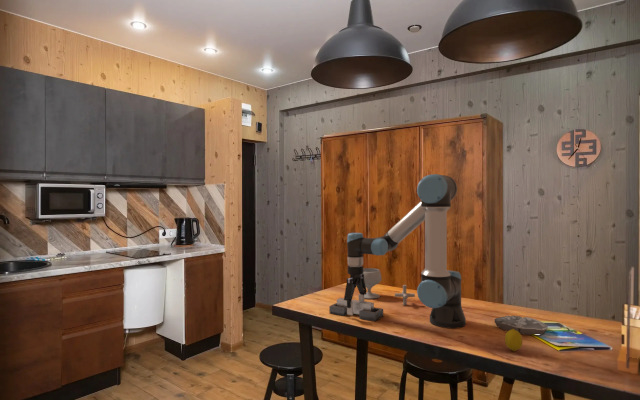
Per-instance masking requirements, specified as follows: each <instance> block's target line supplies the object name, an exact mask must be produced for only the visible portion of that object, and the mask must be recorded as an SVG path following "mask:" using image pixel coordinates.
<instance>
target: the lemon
mask: <svg viewBox="0 0 640 400" xmlns="http://www.w3.org/2000/svg"><path fill="white" fill-rule="evenodd" d="M504 341H505V345H506V346H507V348H508V349H509V350H511V351H512V352H515V351H518V350H520V349H521V348H522V346H523V338H522V334H520V333H519V332H518V331H516V330H515V329H512V330H509V331H506V332H505V336H504Z"/></svg>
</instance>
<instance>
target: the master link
mask: <svg viewBox="0 0 640 400" xmlns="http://www.w3.org/2000/svg"><path fill="white" fill-rule="evenodd" d="M352 301H353V315H354V314H355V315H359V311H360V310H364V311H370V312H374V307H375V306H374V305H375V302H372V301H371V302H370V301H365V300H364V301H359V299H358V300H357V299H352ZM336 303H337V306H339V307H345V308H346V312H347V301H346V300H344V297H339V298H337V299H336Z"/></svg>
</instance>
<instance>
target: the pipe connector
mask: <svg viewBox="0 0 640 400" xmlns="http://www.w3.org/2000/svg"><path fill="white" fill-rule="evenodd" d="M415 296H416V294H415V293H414V292H413V293H412V292H410V293H408V292H407V285H406V284H403V285H402V291H401V293H400V292H398V293H397V292H395V293H394V297H395V298H399V297H400V298H402V305H403V306H407V305H408V303H407V301H408V298H415Z"/></svg>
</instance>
